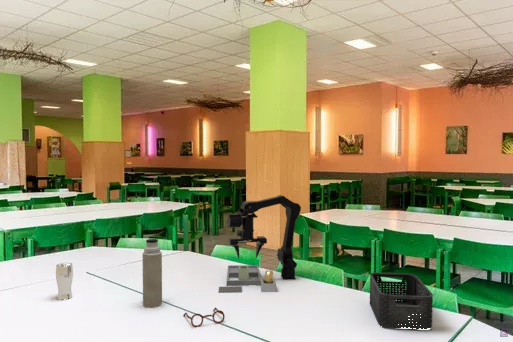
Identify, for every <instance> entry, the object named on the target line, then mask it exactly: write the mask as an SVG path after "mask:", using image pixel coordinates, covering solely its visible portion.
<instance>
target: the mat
mask: <svg viewBox="0 0 513 342" xmlns="http://www.w3.org/2000/svg"><path fill="white" fill-rule="evenodd" d="M217 292H218V293H220V294H222V293H227V294H228V293H229V294H230V293H243V286H218V291H217Z"/></svg>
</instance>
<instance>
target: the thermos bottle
mask: <svg viewBox="0 0 513 342" xmlns="http://www.w3.org/2000/svg"><path fill="white" fill-rule="evenodd" d="M158 242H159V239H157V238H148V239H146V240H145V245H146V246H145V247H143V252H142V306H143V307H145V308H148V309H149V308H151V309H152V308H158V307H160V306H162V305H163V264H162V263H163V256H162V254H163V252H162V251H161V246H159V243H158Z"/></svg>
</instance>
